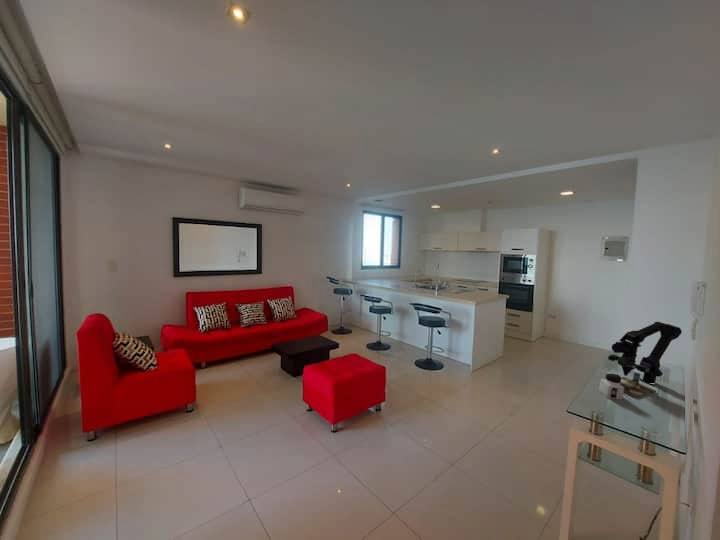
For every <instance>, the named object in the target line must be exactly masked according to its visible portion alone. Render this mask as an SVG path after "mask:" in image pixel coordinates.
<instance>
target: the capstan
mask: <svg viewBox="0 0 720 540" xmlns="http://www.w3.org/2000/svg"><path fill="white" fill-rule="evenodd" d="M640 377H641V374H640V373H639V372H633V377H632V379H631V380H628V379H629V378H628V379H621V383H623V384H625V385H627V386H630V388H632V389H634V388H636V389H638V390H639V389H640V387H639V386H636V385H638V384H639V383H640V379H641V378H640Z"/></svg>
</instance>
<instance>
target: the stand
mask: <svg viewBox="0 0 720 540" xmlns="http://www.w3.org/2000/svg"><path fill="white" fill-rule="evenodd" d="M621 379H628V380H632V379H630V378H629V377H627V376H622V377H621ZM620 385H622V386H623V387H624V392H623V394H626V395H628V396H629V397H632V398H633V399H637V398H641V397H644V396H647V395H651V394H654V393H657V390H656V389H653V388H652V387H649V386H646V385H644V384H643V383H640V382H639V384H638V385H636V386H639V387H640V389H639V390H638V389H636V388H634V389H632V388H630V386H627V385H625V384H623V383H620Z"/></svg>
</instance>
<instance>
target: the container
mask: <svg viewBox="0 0 720 540" xmlns="http://www.w3.org/2000/svg"><path fill="white" fill-rule="evenodd" d="M621 378H622V377H621V375H619V374H617V373H614V372H606V375H605V379H604V378H601V379H600V383H599V387H598V388H599V390H598V391H599V392H600V393H601V394H602V395H603V396H604V397H605V398H607V399H615V400H621V401H622V399H623V398H624V397H623V395H624V393H623V392H624V387H623V386H622V385H620V383H621Z"/></svg>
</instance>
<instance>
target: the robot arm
mask: <svg viewBox="0 0 720 540" xmlns="http://www.w3.org/2000/svg"><path fill="white" fill-rule="evenodd" d="M682 332H683V331H682V329H681V328H680V327H678V326H676V325H672V324H669V323H665V322H660V321H655V322H654V323H652V324H650V325H648V326H646V327H643V328H640V329H639V330H631V331H628V332H625V333H624V335H623V336H622V337H621V338H620V339H619V341H615V343H613V344H611V350H612V351H613V352H614V353H615V354H614V353H613V354H609V355H608V357H607V360H609V361H612V362H615V361H617V364H618V365H619V366H620V367H621V368H622V370H623V375H624V377H627V376H628V375H629V374H630V373H631V371H633V370H635V369H636V370H637V371H639V372H641V373H643V376H642V378H643V381H642V382H644V381H645V382H644V383H646V382H647V383H646V384H648V383H655V382H657V378H659V377H662V375H663V374H664V373H663V372H662V370H661V369H660V368H661V364H660V363H661V362H660V361H661V358H662V357H663V356H664V354H665V352H666V351H667V349H668V347H669V346H670V344H671V342H672V341H673V340H676V339H678V338H679V337H680V336H681V335H682ZM656 333H660V337H659V339H658V340H657V341H656V344H655V345H654V347H653V349H652V351H651V352H650V354H649V355H648V356H646V357H645V356H643V357H642V358H641V359H640V361H639V364H637V363H636V362H637V361H636V357H638V355H637V352H638V349H639V348H640V347H642V345H641V343H643V342H644V341H645V339H646V338H647V337H649V336H652V335H654V334H656ZM617 354H621V356H619V355H617ZM642 378H640V379H639V381H641V380H642ZM655 385H657V384H656V383H655ZM651 386H654V385H653V384H652V385H651Z"/></svg>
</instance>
